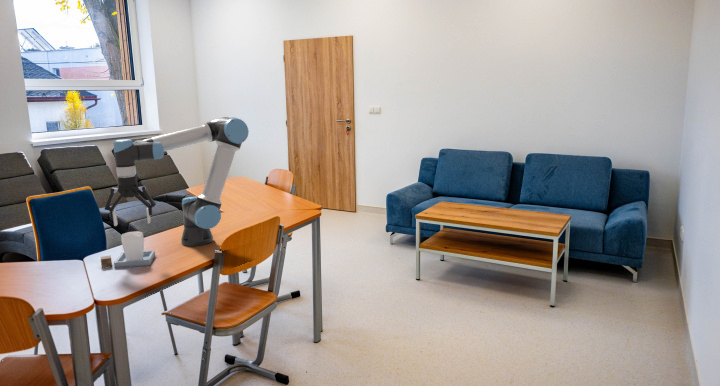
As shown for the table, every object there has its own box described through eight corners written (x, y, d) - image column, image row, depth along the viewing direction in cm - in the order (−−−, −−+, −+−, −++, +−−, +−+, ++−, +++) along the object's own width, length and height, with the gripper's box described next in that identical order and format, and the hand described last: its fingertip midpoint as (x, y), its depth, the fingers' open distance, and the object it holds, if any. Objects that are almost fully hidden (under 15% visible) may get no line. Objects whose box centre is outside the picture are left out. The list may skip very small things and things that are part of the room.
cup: (132, 256, 226) (129, 230, 223) (150, 257, 224) (147, 231, 221) (119, 263, 217) (116, 236, 215) (137, 264, 215) (134, 237, 213)
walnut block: (111, 264, 218) (110, 255, 217) (112, 266, 214) (111, 257, 214) (101, 265, 216) (100, 256, 215) (101, 268, 213) (100, 259, 212)
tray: (155, 255, 229) (154, 250, 228) (149, 265, 215) (148, 260, 215) (122, 257, 226) (121, 252, 225) (114, 268, 212) (113, 262, 212)
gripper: (159, 172, 219) (164, 219, 223) (97, 176, 214) (104, 224, 218) (156, 175, 212) (161, 223, 216) (92, 179, 207) (99, 228, 211)
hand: (132, 224), depth 217 cm, fingers open, 13 cm apart
